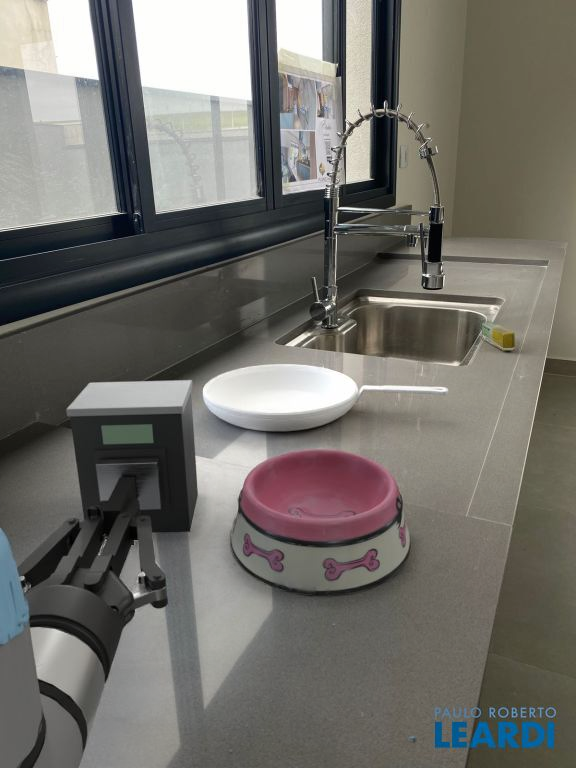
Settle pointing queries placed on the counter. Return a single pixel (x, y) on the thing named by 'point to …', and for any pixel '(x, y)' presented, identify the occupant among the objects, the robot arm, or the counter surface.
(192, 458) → the dispenser
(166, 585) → the robot arm
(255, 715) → the counter surface
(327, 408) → the pan
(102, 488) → the push plate
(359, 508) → the dog bowl
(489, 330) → the medication box
